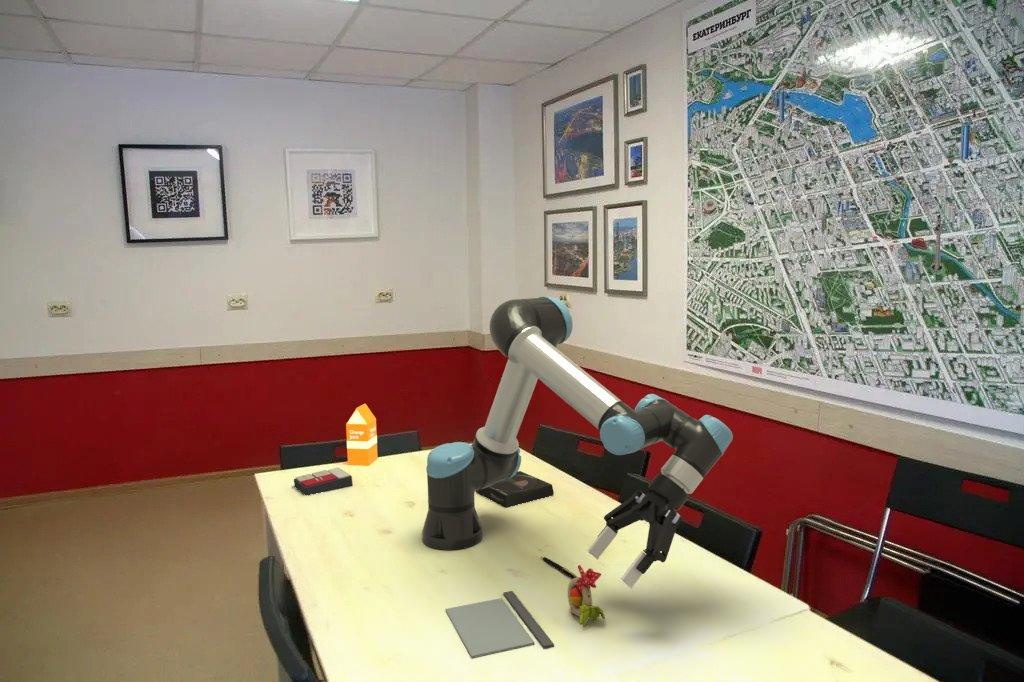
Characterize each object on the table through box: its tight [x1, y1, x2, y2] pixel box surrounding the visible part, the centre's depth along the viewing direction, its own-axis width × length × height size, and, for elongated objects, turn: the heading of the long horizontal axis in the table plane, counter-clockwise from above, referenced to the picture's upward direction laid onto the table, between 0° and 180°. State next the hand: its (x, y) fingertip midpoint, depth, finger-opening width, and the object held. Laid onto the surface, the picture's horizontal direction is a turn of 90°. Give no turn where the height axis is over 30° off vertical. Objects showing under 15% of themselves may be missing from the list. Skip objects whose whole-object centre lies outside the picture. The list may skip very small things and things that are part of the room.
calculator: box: [293, 467, 354, 496], centre depth 219 cm, size 11×4×15 cm
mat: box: [445, 590, 555, 659], centre depth 135 cm, size 22×15×1 cm
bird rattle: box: [567, 564, 606, 627], centre depth 136 cm, size 6×11×9 cm
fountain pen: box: [540, 555, 577, 579], centre depth 159 cm, size 14×1×2 cm, turn 33°
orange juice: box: [345, 403, 378, 467], centre depth 244 cm, size 8×9×20 cm
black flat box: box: [475, 470, 555, 509], centre depth 209 cm, size 16×17×4 cm
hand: (608, 569), depth 136 cm, fingers open, 13 cm apart
